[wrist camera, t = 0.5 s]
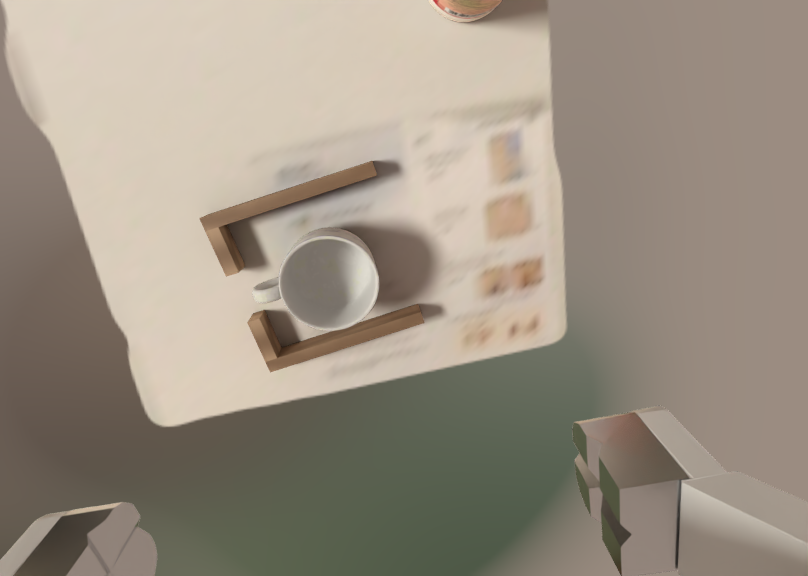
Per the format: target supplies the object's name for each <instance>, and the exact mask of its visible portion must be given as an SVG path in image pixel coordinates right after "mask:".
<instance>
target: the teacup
mask: <svg viewBox="0 0 808 576" xmlns="http://www.w3.org/2000/svg"><path fill="white" fill-rule="evenodd" d="M378 292H379V274H378V270H377V267H376V264H375V261H374V258H373V256H372V253H371V251H370V250H369V248H368V247H367V245H366V244H365V243H364V242H363V241H362V240H361V239H360V238H359V237H357V236H356V235H354V234H353V233H351V232H349V231H346V230H343V229H339V228H321V229H317V230H314V231H311V232H309V233H308V234H306V235H304V236H303V237H302V238H300V239H299V240H298V241H297V242H296V243H295V245H294V246H293V247H292V249H291V250H290V252H289V253H288V255H287V256H286V257H285V259H284V261H283V263H282V265H281V268H280V272H279V277H277V278H274V279H271V280H268V281H265V282H263V283H260V284H258V285H257V286H255V287H254V288H253V290H252V295H253V297H254V299H255V301H256V302H258V303H269V302H273V301H276V300H279V299H281V298H282V300H283V303H284V304H285V306H286V308H287V309H288V310H289V312H290V313H291V314H292V315H293V316H294V317H295V318H296V319H297V320H298V321H300V322H301V323H303V324H305V325H307V326H309V327H311V328H314V329H318V330H326V331H335V330H342V329H346V328H348V327H351V326H353V325H355V324H357V323H358V322H359V321H361V320H362V319H364V318H365V317H366V316H367V315H368V313H369V312H370V311H371V310H372V308H373V307H374V305H375V302H376V300H377V297H378Z"/></svg>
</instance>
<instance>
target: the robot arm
mask: <svg viewBox="0 0 808 576" xmlns="http://www.w3.org/2000/svg"><path fill="white" fill-rule="evenodd" d="M572 431H573V442H574V443H575V445H576V447H577V449H578V451H579V452H580V453H579V455H578V456H577V458H576V459H575V460H574V461H575V471H576V478H577V482H578V486H579V490H580V493H581V496H582V498H583V501H584V503H585V506H586V507H587V510H588V512H589V514H590V516H591V517H592V518H594V519H595V520H597V521H598V522H600V523H601V524H602V540H603V542H604V544H605V546H606V548H607V550H608V552H609V553H610V555H611V557H612V559H613V561H614V563H615V565H616V567H617V569H618V571H619V573H620V575H621V576H639V575H646V574H654V573H661V572H668V571H676V570H678V574H679V575H680V576H808V502H807V501H805V500H802V499H800V498H798V497H796V496H793V495H791V494H789V493H786V492H784V491H782V490H779V489H777V488H775V487H773V486H770V485H768V484H766V483H763V482H761V481H759V480H757V479H754V478H752V477H750V476H747V475H745V474H743V473H740V472H738V471H736V472H730V473H728V472H726V470H725V469H724V468H723V467H722V466H721V465H720V464H719V463H718V462H717V461H716V460H715V459H714V458H713V457H712V456H711V455H710V454H709V453H708V452H707V451H706V450H705V448H704V447H703V446H702V445H701V444H700V443H699V442H698V441H697V440H696V439H695V438H694V437H693V436H692V435H691V434H690V433H689V432H688V431H687V430H686V429H685V428H684V427H683V426H682V425H681V423H679V421H678V420H677V419H676V418H674V416H673V415H672V414H671V413H670V412H669V411H668V410H667V409H666V408H664V407H662V406H655V407H650V408H645V409H639V410H634V411H631V412H627V413H622V414H616V415H611V416H605V417H601V418H594V419H589V420H584V421H578V422H574V423H573V429H572ZM139 520H140V515H139V513H138V512H137V510H136V508H135V507H134V505H133V504H131V503H125V502H121V503H115V504H108V505H101V506H95V507H88V508H82V509H76V510H72V511H66V512H59V513H53V514H47V515H45V516H43V517H41V518H39V519H37V520H35V521H34V522H33V524H32V525H31V526H30V527H29V528H28V529H27V530H26V532H25V533H24V534H23V535H22V536H21V537H20V538H19V539H18V541H17V542H16V543H15V544H14V545H13V547H11V549H10V550H9V551H8V552H7V553H6V554H5V555H4V557H3V558H2V559H1V560H0V576H154V575H155V570H156V563H157V551H156V545H155V543H154V541H153V539H152V537H151V535H150V534H149V533H147V532H145V531H144V530H142V529H140V528H139V527H138V524H139Z"/></svg>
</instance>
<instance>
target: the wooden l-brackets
mask: <svg viewBox="0 0 808 576" xmlns="http://www.w3.org/2000/svg"><path fill="white" fill-rule="evenodd" d="M376 175H377V173H376V170H375V167H374V164H373V161H370V162H367V163H364V164H361V165H358V166H355V167H352V168H349V169H346V170H343V171H340V172H337V173H334V174H330V175H327V176H324V177H321V178H318V179H315V180H312V181H309V182H306V183H303V184H300V185H297V186H294V187H291V188H288V189H285V190H282V191H278V192H275V193H272V194H269V195H266V196H263V197H260V198H257V199H254V200H251V201H248V202H245V203H242V204H239V205H236V206H233V207H230V208H227V209H223V210H220V211H217V212H214V213H211V214H208V215H206V216H204V217H202V218H200V221H201V223H202V225H203V227H204V229H205V232H206V234H207V236H208V238H209V240H210V242H211V245H212V247H213V249H214V251H215V253H216V255H217V258H218V260H219V262H220V264H221V266H222V268H223V271H224V273H225V275H226V276H229V275H233V274H236V273H239V272H240V271H241V270H242V269H243V268H244V266H245V264H244V262H243V260H242V257H241V255H240V253H239V251H238V248H237V246H236V244H235V242H234V239H233V237H232V235H231V233H230V230H229V228H228V226H227V224H229V223H233V222H236V221H239V220H242V219H245V218H248V217H251V216H254V215H257V214H260V213H263V212H266V211H269V210H272V209H275V208H278V207H282V206H285V205H288V204H291V203H294V202H297V201H300V200H303V199H306V198H309V197H312V196H315V195H318V194H321V193H324V192H327V191H331V190H334V189H337V188H340V187H343V186H346V185H349V184H352V183H355V182H358V181H361V180H364V179H367V178H370V177H373V176H376ZM247 323H248V325H249V327H250V329H251V331H252V334H253V336H254V338H255V340H256V342H257V344H258V347H259V349H260V351H261V353H262V355H263V357H264V360H265V362H266V364H267V366H268V368H269V370H270V372H273V371H276V370H279V369H282V368H285V367H288V366H291V365H294V364H298V363H301V362H304V361H307V360H310V359H313V358H316V357H319V356H323V355H326V354H329V353H332V352H335V351H338V350H341V349H344V348H347V347H351V346H354V345H357V344H360V343H363V342H366V341H369V340H372V339H375V338H379V337H382V336H385V335H388V334H391V333H394V332H397V331H400V330H404V329H407V328H410V327H413V326H416V325H419V324H422V323H424V320H423V317H422V314H421V311H420V308H419V305H418V304H416V305H413V306H410V307H406V308H403V309H400V310H397V311H394V312H391V313H388V314H385V315H382V316H378V317H375V318H372V319H369V320H366V321H363V322H360V323H357V324H355V325H353V326H351V327H348V328H346V329H342V330H335V331H332V332H329V333H326V334H322V335H319V336H316V337H313V338H310V339H307V340H304V341H301V342H298V343H295V344H291V345H288V346H285V347H282V348H281V346H280V343H279V341H278V339H277V337H276V334H275V332H274V330H273V328H272V325H271V323H270V321H269V319H268V316H267V314H266V312H265V310H263V311H260V312H256V313H253V315H252V316H251V318H250V319H249V321H248V322H247Z"/></svg>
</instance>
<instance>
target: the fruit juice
mask: <svg viewBox="0 0 808 576" xmlns="http://www.w3.org/2000/svg"><path fill="white" fill-rule="evenodd" d="M428 1H429V3H430V4H431V6H432V7H433V8H434V9H435V10H436V11H437V12H438V13H439V14H440V15H442V16H443V17H445V18H447V19H449V20H452V21H456V22H471V21H475V20H478V19H480V18H482V17H484V16H486V15H487V14H489V13H490V12H491V11H493V10H494V9H495V8H496V7H497V6H498V5H499V3H500V2H501V1H502V0H428Z"/></svg>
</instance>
